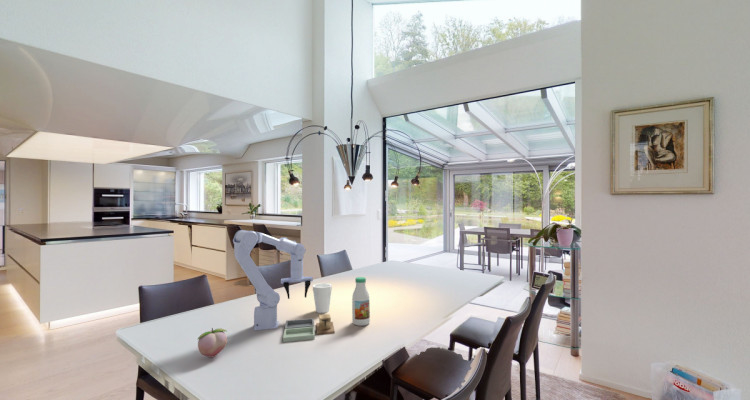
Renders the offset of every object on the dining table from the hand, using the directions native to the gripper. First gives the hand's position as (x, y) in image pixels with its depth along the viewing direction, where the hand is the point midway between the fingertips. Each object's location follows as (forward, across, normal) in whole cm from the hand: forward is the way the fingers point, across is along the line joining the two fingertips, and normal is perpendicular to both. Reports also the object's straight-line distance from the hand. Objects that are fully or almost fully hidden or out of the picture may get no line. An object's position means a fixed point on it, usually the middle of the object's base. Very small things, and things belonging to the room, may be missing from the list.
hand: (297, 297), depth 149 cm
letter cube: (+8, +11, -19) cm, 23 cm away
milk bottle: (+10, +27, -16) cm, 33 cm away
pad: (+9, +11, -19) cm, 24 cm away
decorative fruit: (+10, -30, -31) cm, 44 cm away
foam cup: (+10, +12, +5) cm, 17 cm away
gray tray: (+9, +1, -13) cm, 16 cm away
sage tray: (+9, 0, -23) cm, 25 cm away
